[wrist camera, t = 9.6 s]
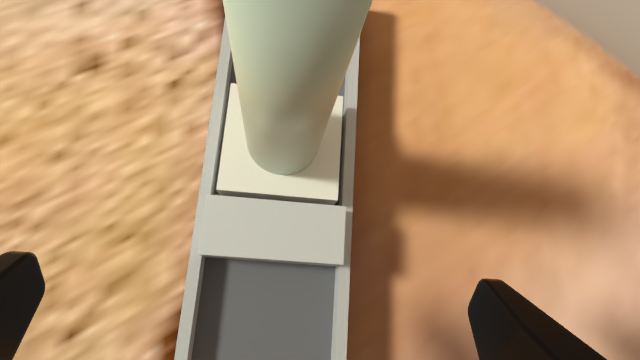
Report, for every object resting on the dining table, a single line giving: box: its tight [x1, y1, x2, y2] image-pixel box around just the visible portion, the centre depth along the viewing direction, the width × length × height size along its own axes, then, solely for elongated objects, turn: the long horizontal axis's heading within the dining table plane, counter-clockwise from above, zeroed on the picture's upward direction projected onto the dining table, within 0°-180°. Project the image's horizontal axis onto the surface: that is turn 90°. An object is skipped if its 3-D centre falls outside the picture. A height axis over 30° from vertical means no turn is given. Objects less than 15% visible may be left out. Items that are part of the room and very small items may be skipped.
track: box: [174, 16, 360, 360], centre depth 19 cm, size 20×7×4 cm, turn 176°
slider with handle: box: [216, 0, 372, 205], centre depth 12 cm, size 5×5×14 cm
